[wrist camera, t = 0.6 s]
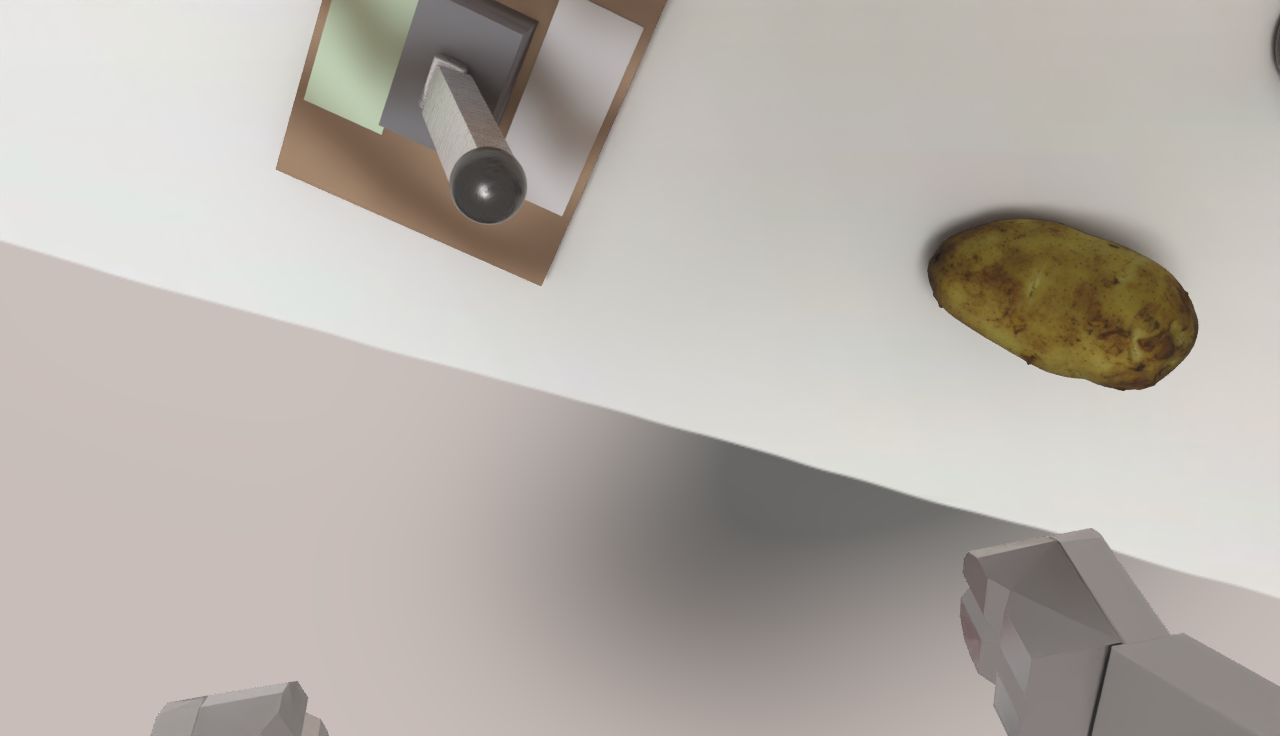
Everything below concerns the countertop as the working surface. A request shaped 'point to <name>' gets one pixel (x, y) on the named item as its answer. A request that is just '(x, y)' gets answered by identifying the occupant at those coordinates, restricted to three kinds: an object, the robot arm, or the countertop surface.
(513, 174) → the toggle lever
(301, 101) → the switch board
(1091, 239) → the potato
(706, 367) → the countertop surface
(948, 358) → the countertop surface
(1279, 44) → the supplement bottle
